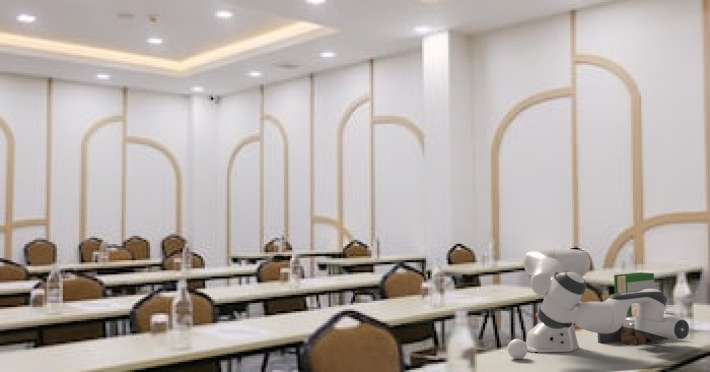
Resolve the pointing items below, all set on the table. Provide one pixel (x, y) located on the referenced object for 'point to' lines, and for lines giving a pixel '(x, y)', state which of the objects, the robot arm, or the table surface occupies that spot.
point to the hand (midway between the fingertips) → (638, 319)
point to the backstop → (611, 336)
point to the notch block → (631, 336)
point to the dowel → (639, 338)
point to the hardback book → (633, 283)
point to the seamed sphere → (517, 349)
